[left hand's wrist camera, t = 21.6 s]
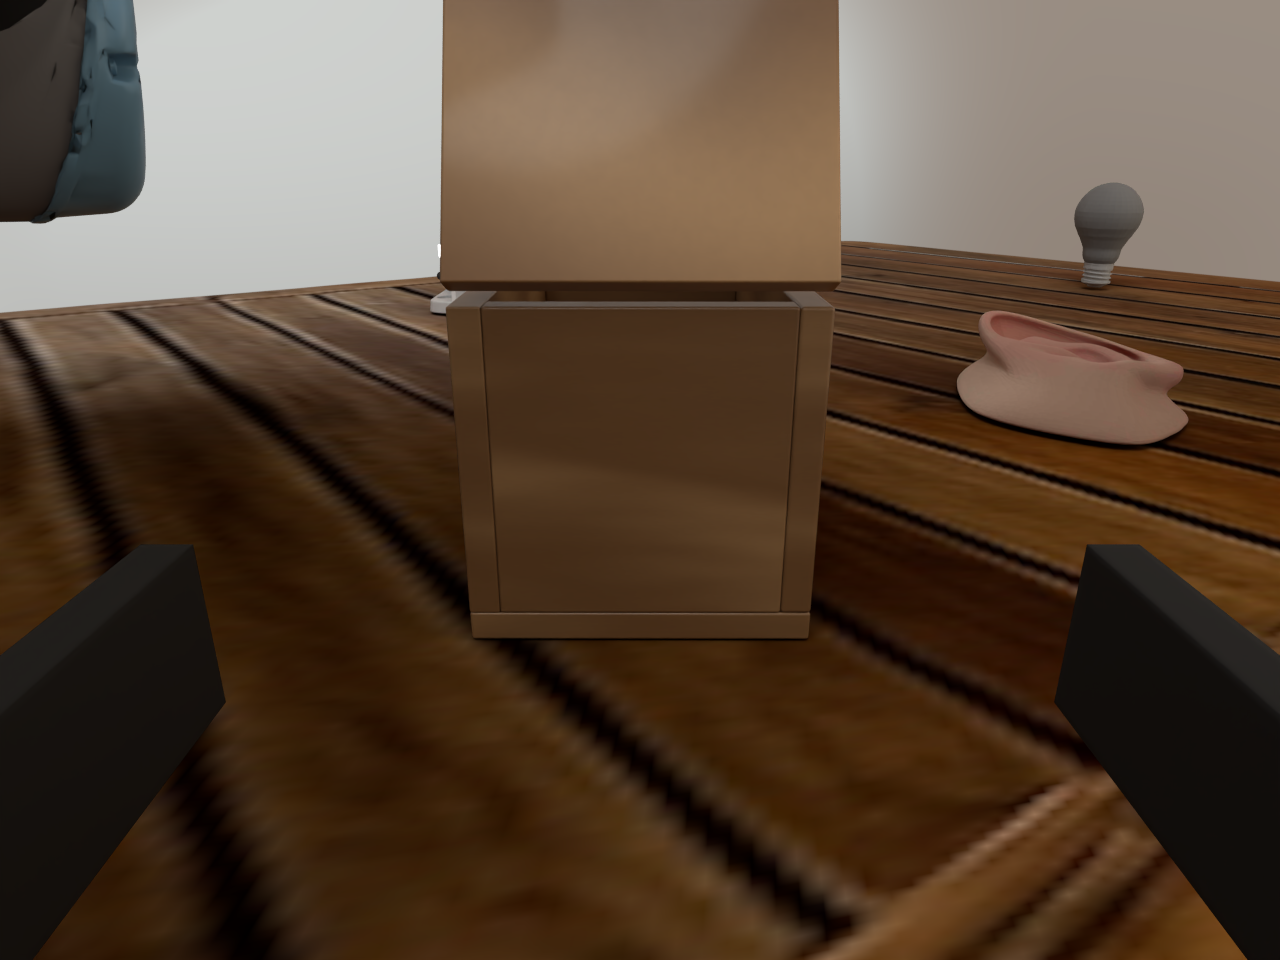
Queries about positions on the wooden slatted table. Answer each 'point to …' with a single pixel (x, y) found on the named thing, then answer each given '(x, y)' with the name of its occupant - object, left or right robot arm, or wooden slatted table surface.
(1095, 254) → the light bulb
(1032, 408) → the anatomical model
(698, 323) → the chest
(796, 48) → the lid
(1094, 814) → the wooden slatted table surface
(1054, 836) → the wooden slatted table surface
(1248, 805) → the left robot arm
